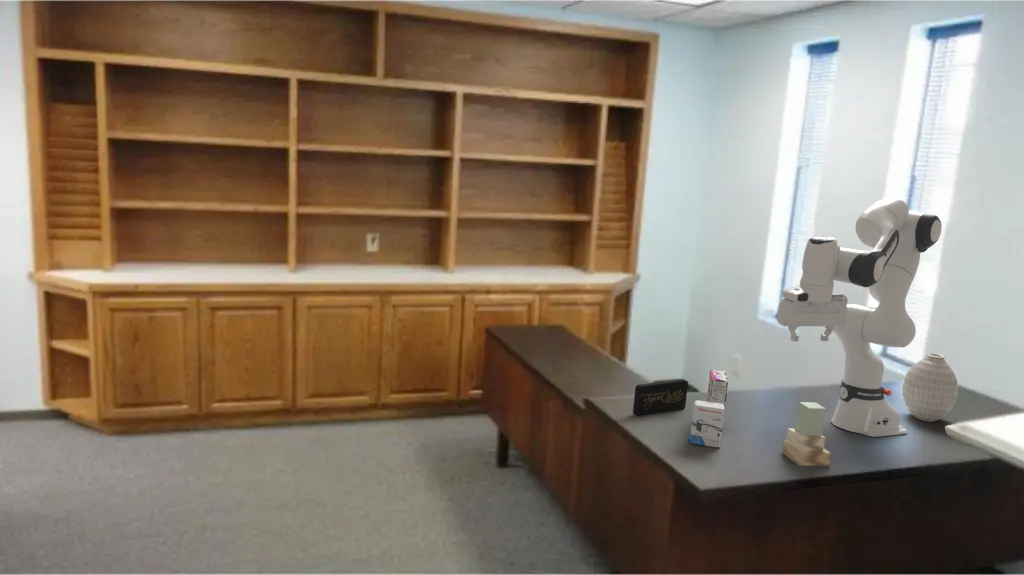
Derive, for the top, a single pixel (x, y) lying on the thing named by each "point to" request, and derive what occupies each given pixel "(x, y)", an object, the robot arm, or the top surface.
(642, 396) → the nameplate
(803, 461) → the oak block
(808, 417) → the sage block
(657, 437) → the top surface
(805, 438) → the maple block
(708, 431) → the ink box
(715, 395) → the candy bar box
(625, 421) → the top surface
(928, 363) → the vase
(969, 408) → the top surface
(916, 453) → the top surface
